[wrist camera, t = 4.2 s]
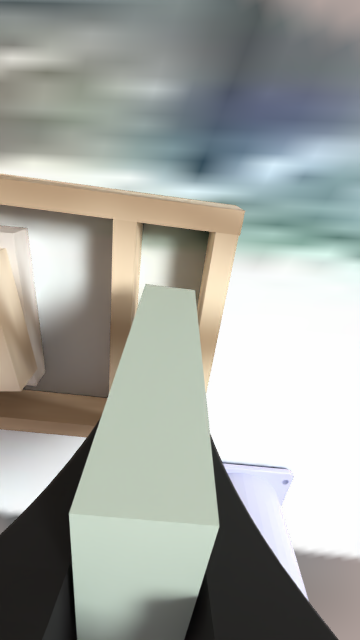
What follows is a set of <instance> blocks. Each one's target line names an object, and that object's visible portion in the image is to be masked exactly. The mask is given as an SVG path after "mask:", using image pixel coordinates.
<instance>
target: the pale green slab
mask: <svg viewBox="0 0 360 640" xmlns="http://www.w3.org/2000/svg"><path fill="white" fill-rule="evenodd" d="M69 522H70V537H71V553H72V568H73V583H74V599H75V614H76V629H77V640H184V639H185V636H186V632H187V629H188V626H189V623H190V619H191V616H192V613H193V610H194V607H195V603H196V600H197V597H198V594H199V590H200V587H201V584H202V581H203V578H204V574H205V571H206V568H207V565H208V561H209V558H210V555H211V552H212V549H213V545H214V542H215V539H216V536H217V532H218V529H219V517H218V508H217V498H216V488H215V479H214V469H213V459H212V450H211V440H210V430H209V421H208V411H207V401H206V392H205V382H204V372H203V363H202V353H201V343H200V334H199V324H198V315H197V305H196V295H195V290H190V289H182V288H174V287H166V286H157V285H149V284H145V287H144V290H143V293H142V296H141V299H140V302H139V305H138V308H137V311H136V314H135V317H134V320H133V323H132V326H131V329H130V332H129V335H128V338H127V341H126V344H125V347H124V350H123V353H122V356H121V359H120V362H119V365H118V368H117V371H116V374H115V377H114V380H113V383H112V386H111V389H110V392H109V395H108V398H107V401H106V404H105V407H104V410H103V413H102V416H101V419H100V422H99V425H98V428H97V431H96V434H95V437H94V440H93V443H92V446H91V449H90V452H89V455H88V458H87V461H86V464H85V467H84V470H83V473H82V476H81V479H80V482H79V485H78V488H77V491H76V494H75V497H74V500H73V503H72V506H71V509H70V512H69Z"/></svg>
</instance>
